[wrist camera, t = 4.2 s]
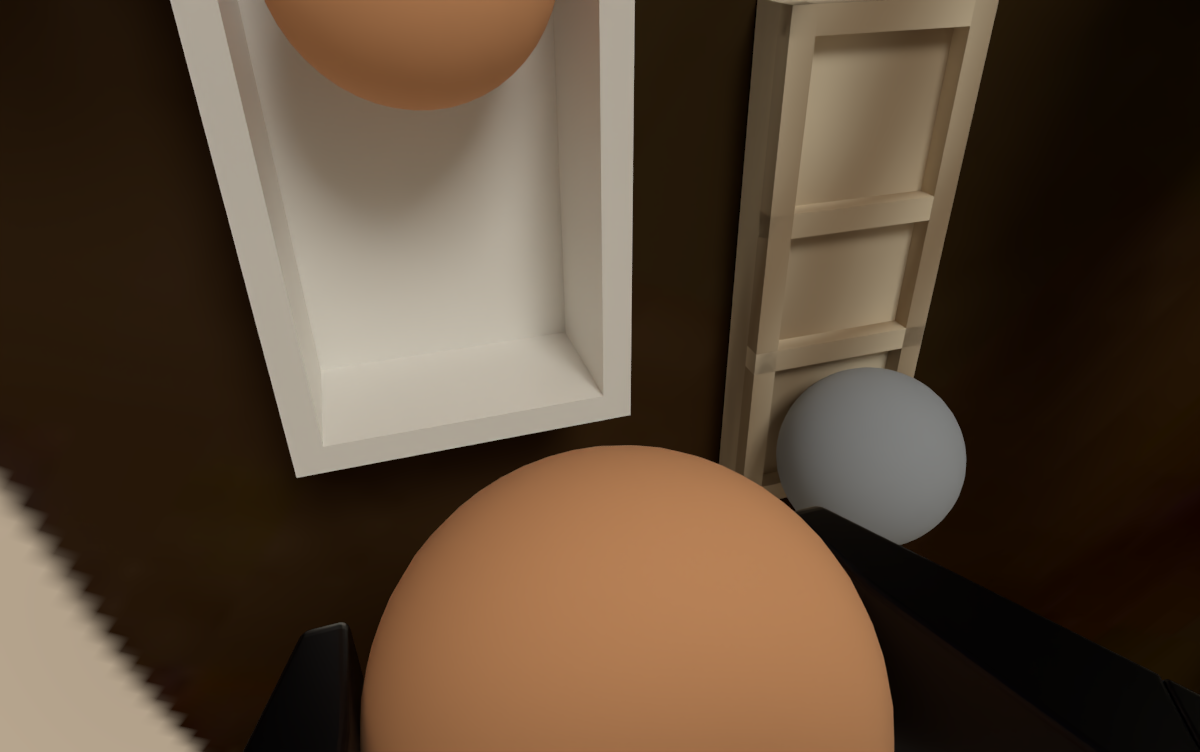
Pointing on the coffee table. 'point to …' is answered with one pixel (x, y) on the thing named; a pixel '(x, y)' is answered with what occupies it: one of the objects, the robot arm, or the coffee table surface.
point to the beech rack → (842, 198)
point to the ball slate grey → (873, 452)
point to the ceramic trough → (427, 237)
